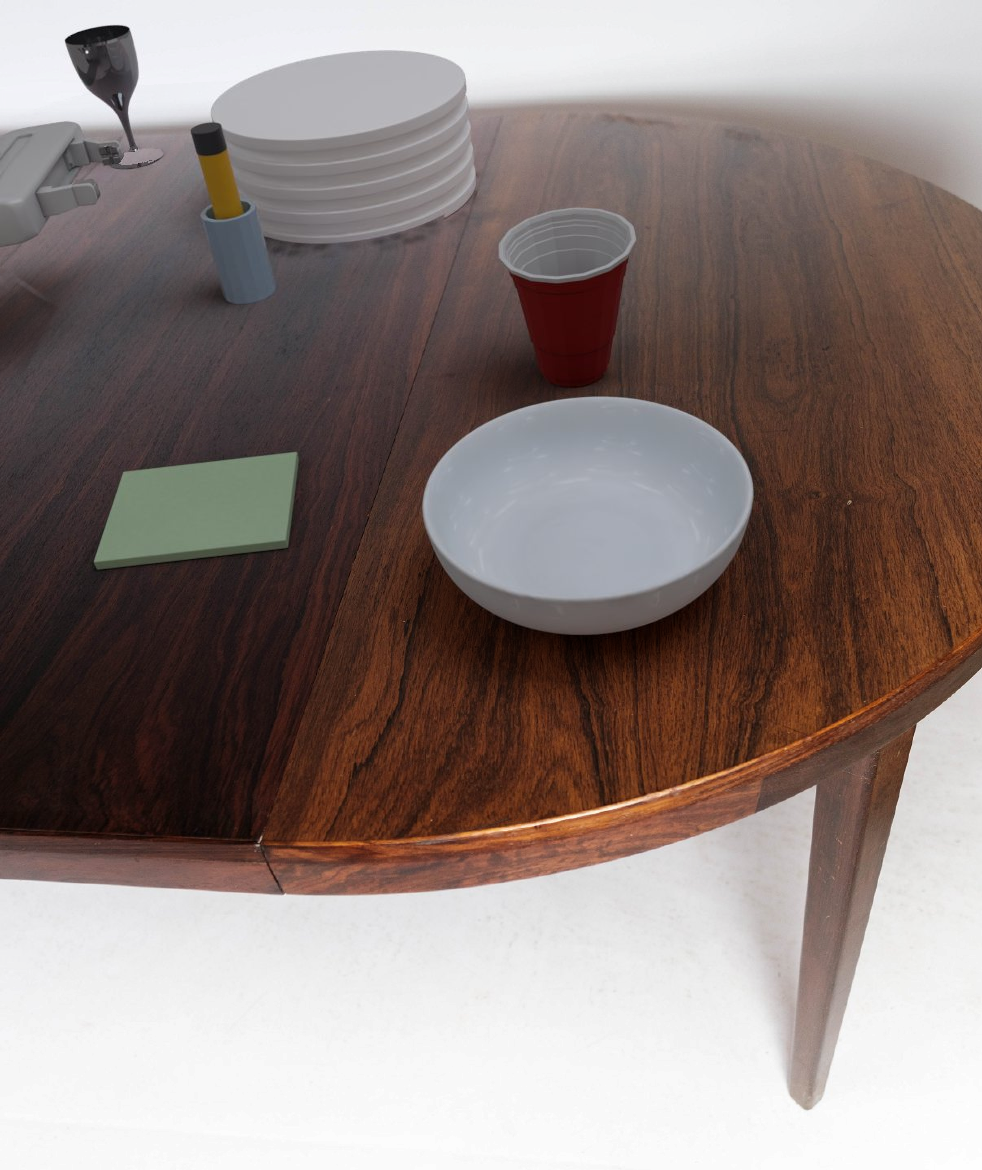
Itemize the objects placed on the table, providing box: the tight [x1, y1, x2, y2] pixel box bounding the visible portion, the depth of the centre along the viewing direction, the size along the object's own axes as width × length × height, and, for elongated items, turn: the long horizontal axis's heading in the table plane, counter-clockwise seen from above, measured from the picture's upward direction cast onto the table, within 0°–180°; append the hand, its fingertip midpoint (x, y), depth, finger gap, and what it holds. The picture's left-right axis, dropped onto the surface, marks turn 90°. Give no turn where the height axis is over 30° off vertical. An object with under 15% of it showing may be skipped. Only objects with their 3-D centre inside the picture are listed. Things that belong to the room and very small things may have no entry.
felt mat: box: [93, 451, 300, 571], centre depth 80 cm, size 14×11×1 cm
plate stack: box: [210, 49, 477, 244], centre depth 119 cm, size 28×28×12 cm
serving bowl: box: [421, 396, 754, 636], centre depth 69 cm, size 21×21×7 cm
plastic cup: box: [498, 207, 637, 388], centre depth 86 cm, size 11×11×12 cm
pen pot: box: [199, 199, 277, 305], centre depth 103 cm, size 5×5×9 cm
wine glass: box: [64, 24, 157, 170], centre depth 134 cm, size 8×8×15 cm
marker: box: [190, 121, 244, 220], centre depth 100 cm, size 3×3×16 cm
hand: (109, 170), depth 97 cm, fingers open, 8 cm apart
